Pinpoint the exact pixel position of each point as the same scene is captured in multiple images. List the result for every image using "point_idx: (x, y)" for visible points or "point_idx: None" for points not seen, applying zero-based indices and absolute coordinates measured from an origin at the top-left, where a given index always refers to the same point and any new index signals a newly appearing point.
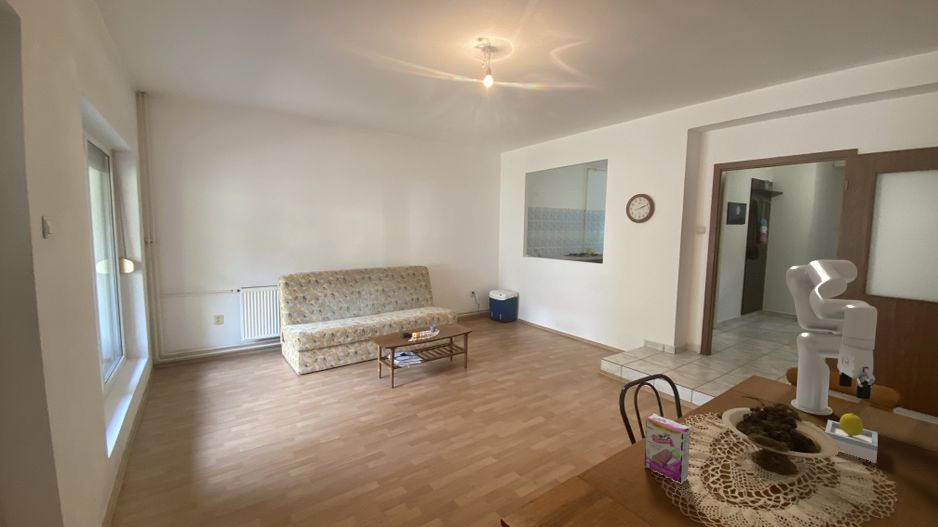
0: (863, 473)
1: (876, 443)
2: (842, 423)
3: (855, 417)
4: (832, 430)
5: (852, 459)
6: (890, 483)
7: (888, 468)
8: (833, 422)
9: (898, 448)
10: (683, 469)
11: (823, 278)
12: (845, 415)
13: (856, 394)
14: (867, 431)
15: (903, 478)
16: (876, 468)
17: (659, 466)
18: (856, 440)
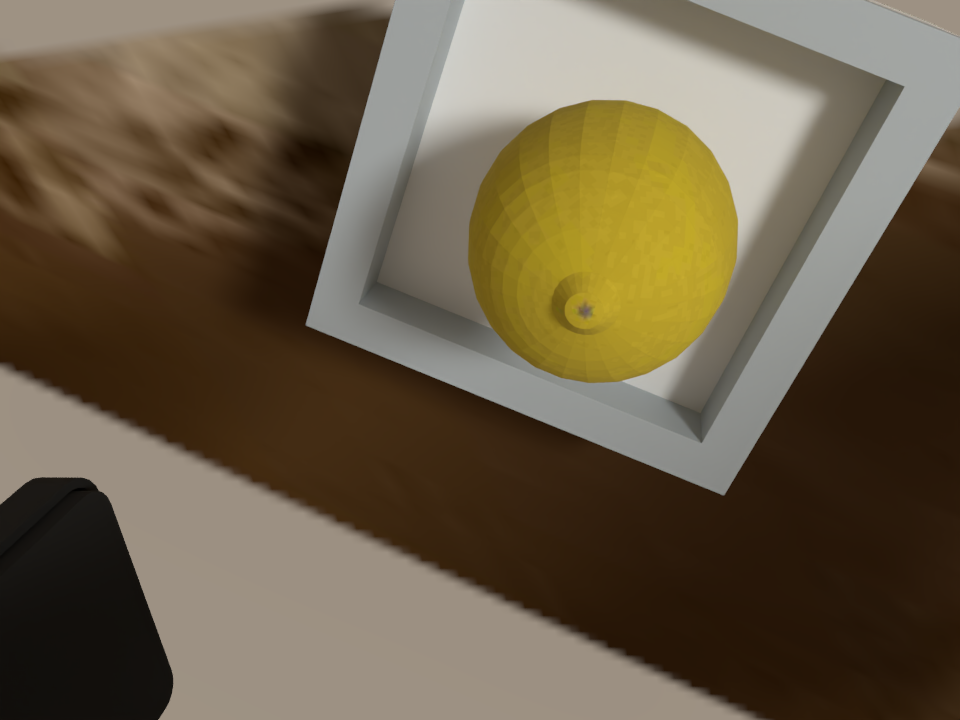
0: (101, 63)
1: (381, 348)
2: (550, 117)
3: (521, 316)
4: (728, 24)
5: (346, 73)
6: (56, 209)
7: None
8: (896, 96)
9: (791, 569)
10: None
11: None
12: (584, 202)
13: (6, 523)
14: (719, 407)
15: (204, 340)
16: (269, 216)
17: None
18: (352, 167)
